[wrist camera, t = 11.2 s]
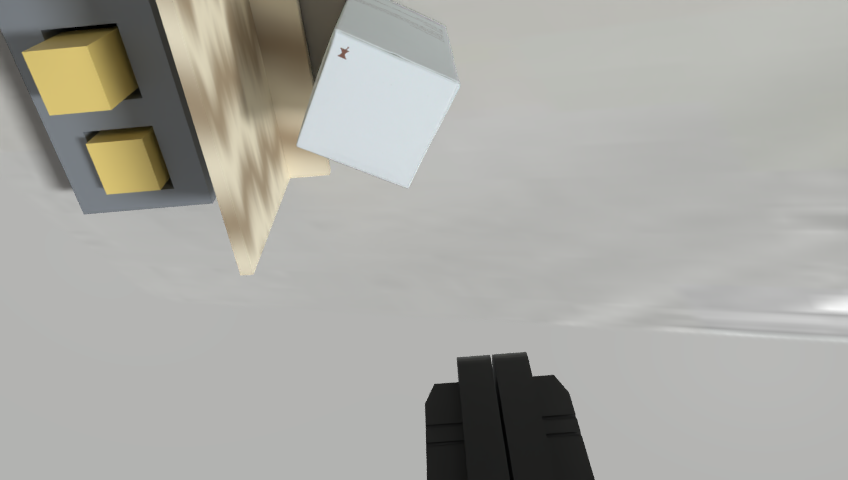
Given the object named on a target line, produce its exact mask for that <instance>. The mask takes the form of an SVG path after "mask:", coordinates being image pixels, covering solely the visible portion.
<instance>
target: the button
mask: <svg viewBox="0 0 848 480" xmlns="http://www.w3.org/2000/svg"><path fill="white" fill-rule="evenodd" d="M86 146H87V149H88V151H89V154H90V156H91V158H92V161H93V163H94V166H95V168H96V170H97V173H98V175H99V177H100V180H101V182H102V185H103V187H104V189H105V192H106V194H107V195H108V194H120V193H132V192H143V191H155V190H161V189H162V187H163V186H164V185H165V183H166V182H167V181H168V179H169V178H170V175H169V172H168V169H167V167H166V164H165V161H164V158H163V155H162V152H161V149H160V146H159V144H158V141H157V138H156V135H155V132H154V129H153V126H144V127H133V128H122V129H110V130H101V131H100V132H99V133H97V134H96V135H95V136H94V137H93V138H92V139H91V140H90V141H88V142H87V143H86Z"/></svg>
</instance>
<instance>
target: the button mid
mask: <svg viewBox="0 0 848 480" xmlns="http://www.w3.org/2000/svg"><path fill="white" fill-rule="evenodd" d="M22 54H23V56H24V59H25V61H26V63H27V65H28V68H29V70H30V72H31V75H32V77H33V79H34V81H35V84H36V86H37V88H38V90H39V93H40V95H41V97H42V99H43V102H44V104H45V106H46V108H47V111H48V113H49V115H50V116H51V115H62V114H73V113H84V112H95V111H106V110H112V109H113V108H114V107H116V106H117V105H118V104H119V103H120V102H122V101H123V100H124V99H125V98H126V97H127V96H129V95H130V94H131V93H132V92H133V91H135V90H136V89H137V88H138V87H139V86H138V83H137V81H136V78H135V75H134V72H133V69H132V66H131V63H130V61H129V58H128V55H127V52H126V49H125V46H124V43H123V40H122V38H121V35H120V32H119V29H118V27H108V28H97V29H87V30H76V31H66V32H61V33H59V34H57V35H55V36H53V37H51V38H49V39H47V40H45V41H43V42H41V43H39V44H37V45H35V46H33V47H31V48H29V49H27V50H25V51H23V52H22Z"/></svg>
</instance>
